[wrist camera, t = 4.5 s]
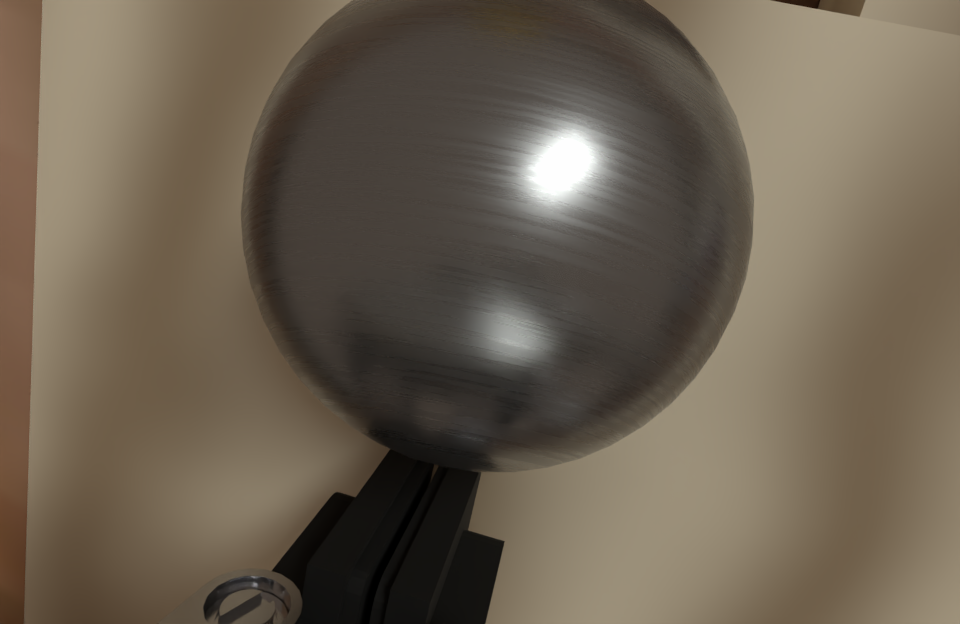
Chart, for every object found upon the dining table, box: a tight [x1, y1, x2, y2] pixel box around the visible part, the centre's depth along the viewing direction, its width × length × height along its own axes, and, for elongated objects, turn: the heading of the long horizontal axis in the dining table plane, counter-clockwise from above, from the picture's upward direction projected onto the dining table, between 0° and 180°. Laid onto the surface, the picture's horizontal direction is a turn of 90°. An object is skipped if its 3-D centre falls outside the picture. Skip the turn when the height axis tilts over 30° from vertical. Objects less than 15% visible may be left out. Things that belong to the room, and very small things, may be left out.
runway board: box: [24, 0, 960, 624], centre depth 12 cm, size 20×30×2 cm, turn 167°
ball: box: [241, 0, 754, 472], centre depth 8 cm, size 6×6×6 cm
